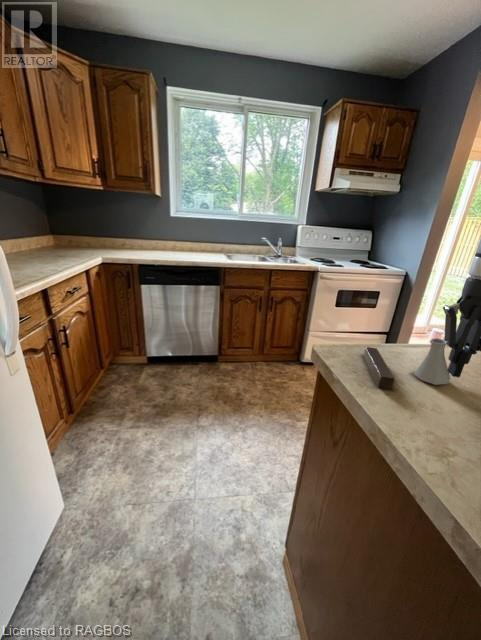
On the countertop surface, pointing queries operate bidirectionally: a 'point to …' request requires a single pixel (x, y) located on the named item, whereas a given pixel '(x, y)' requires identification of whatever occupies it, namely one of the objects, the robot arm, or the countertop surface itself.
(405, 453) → the countertop surface
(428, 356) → the flask
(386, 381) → the rail
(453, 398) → the countertop surface
